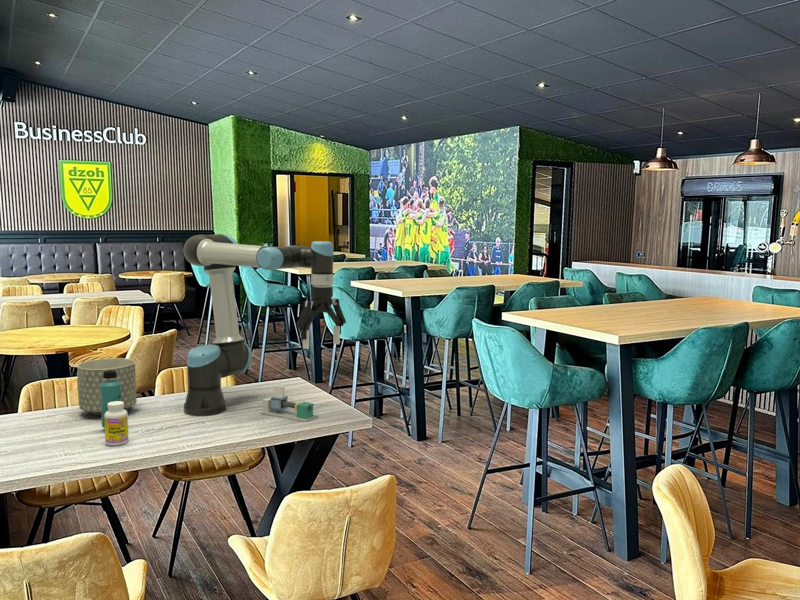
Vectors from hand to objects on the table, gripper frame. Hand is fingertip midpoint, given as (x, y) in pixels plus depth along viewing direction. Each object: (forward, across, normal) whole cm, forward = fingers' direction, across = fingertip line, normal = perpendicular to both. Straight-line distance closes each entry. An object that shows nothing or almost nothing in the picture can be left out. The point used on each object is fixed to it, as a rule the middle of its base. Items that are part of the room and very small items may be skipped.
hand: (321, 346), depth 229 cm
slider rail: (+26, -6, +11) cm, 29 cm away
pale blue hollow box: (+25, -7, +15) cm, 30 cm away
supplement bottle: (+27, -62, +24) cm, 72 cm away
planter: (+28, -51, +59) cm, 83 cm away
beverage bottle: (+27, -58, +38) cm, 74 cm away
